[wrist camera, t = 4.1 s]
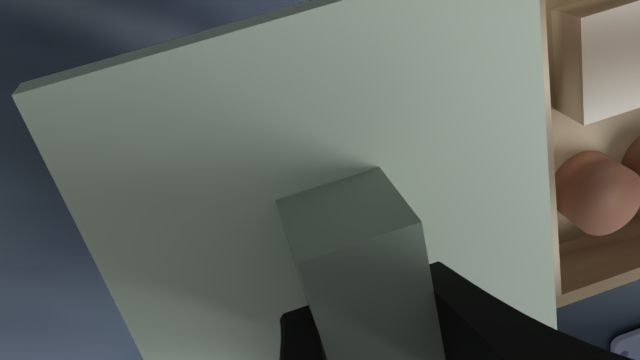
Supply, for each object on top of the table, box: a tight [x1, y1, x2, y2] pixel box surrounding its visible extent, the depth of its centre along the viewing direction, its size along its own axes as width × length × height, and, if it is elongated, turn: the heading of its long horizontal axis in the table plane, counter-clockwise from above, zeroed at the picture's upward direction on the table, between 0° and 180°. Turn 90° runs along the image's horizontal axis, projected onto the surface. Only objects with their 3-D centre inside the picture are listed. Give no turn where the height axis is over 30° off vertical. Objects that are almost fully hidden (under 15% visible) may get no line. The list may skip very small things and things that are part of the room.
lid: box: [11, 0, 557, 360], centre depth 14 cm, size 13×10×4 cm
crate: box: [539, 0, 640, 309], centre depth 23 cm, size 13×10×4 cm
